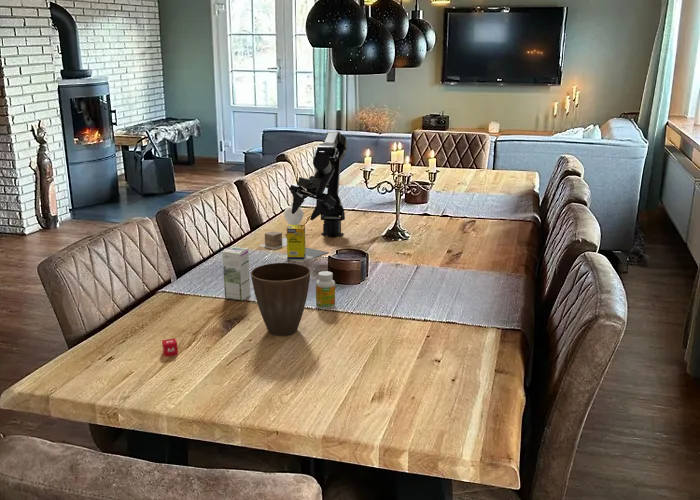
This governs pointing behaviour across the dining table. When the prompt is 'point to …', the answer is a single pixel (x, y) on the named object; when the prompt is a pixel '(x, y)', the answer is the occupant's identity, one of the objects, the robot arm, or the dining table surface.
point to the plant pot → (281, 295)
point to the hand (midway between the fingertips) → (301, 216)
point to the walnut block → (273, 239)
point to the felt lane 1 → (284, 243)
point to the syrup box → (236, 273)
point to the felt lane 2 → (307, 255)
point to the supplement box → (295, 241)
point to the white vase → (293, 215)
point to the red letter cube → (170, 347)
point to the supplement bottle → (325, 290)
